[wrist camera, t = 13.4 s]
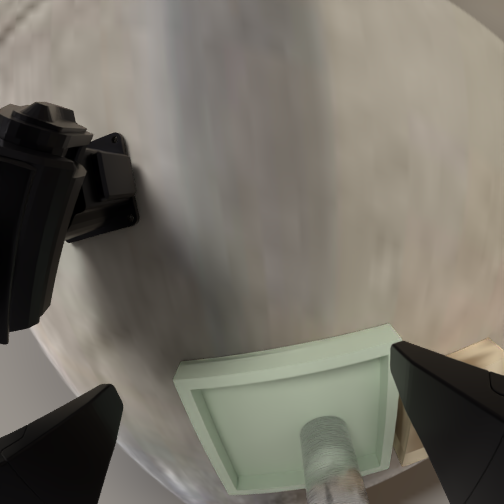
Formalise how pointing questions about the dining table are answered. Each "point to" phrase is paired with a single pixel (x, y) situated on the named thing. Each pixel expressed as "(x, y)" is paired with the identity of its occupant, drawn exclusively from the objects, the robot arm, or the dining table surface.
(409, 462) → the socket block
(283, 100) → the dining table surface
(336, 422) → the steel pin
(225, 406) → the tray
